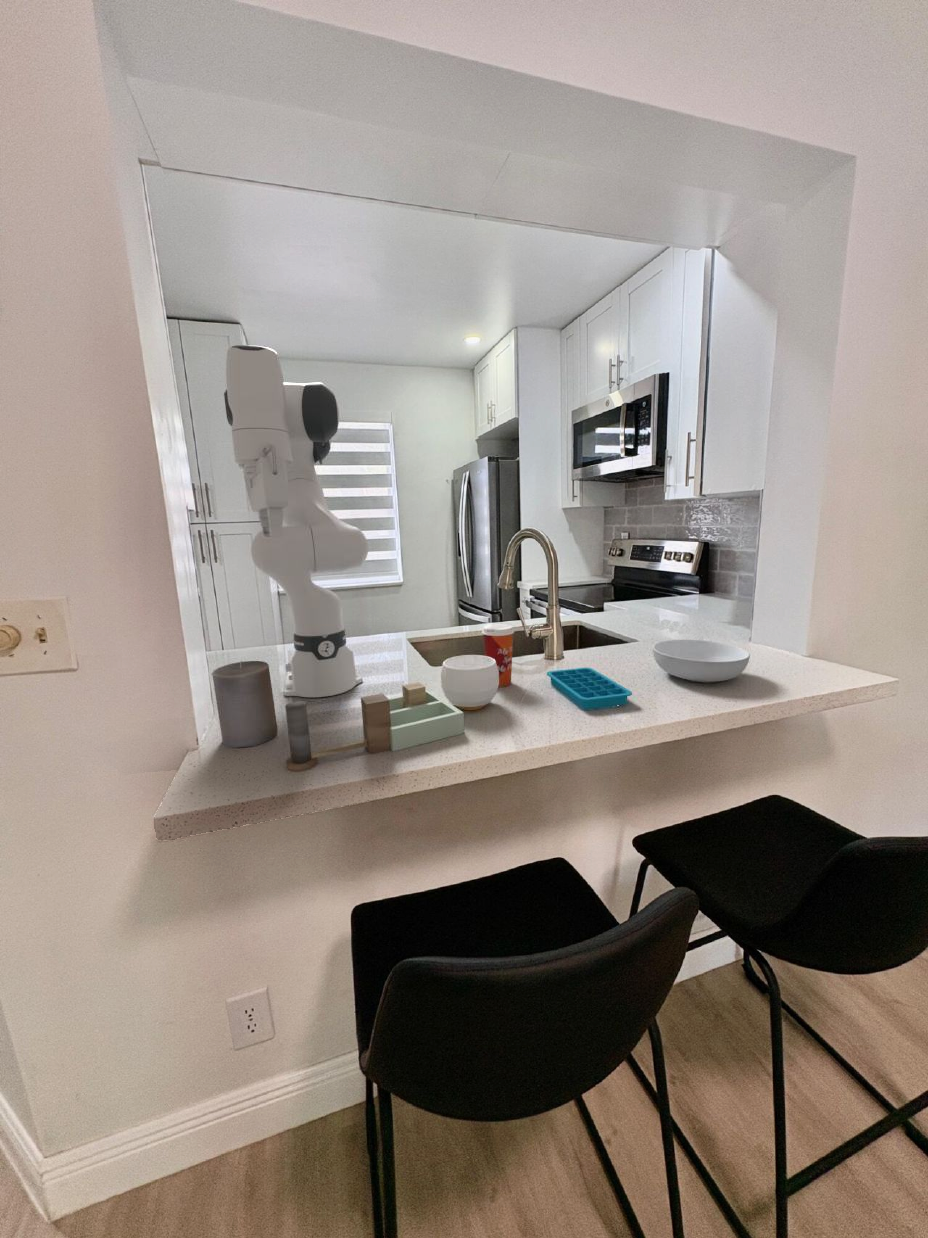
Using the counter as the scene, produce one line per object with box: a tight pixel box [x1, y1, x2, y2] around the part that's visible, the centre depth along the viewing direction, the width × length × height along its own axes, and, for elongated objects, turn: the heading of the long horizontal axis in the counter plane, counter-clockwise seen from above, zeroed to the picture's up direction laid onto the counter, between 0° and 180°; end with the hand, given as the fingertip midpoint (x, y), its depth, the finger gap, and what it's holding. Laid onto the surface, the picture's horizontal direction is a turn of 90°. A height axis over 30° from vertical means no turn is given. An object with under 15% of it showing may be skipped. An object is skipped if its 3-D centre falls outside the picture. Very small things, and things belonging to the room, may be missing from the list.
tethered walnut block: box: [284, 692, 392, 772], centre depth 84 cm, size 5×18×10 cm, turn 115°
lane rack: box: [387, 689, 465, 752], centre depth 95 cm, size 15×14×4 cm
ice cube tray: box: [546, 667, 633, 711], centre depth 111 cm, size 12×20×3 cm, turn 13°
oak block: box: [401, 681, 427, 708], centre depth 99 cm, size 4×4×7 cm
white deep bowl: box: [440, 654, 499, 711], centre depth 105 cm, size 12×12×10 cm
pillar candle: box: [211, 660, 278, 749], centre depth 93 cm, size 10×10×15 cm
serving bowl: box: [652, 639, 751, 683], centre depth 119 cm, size 21×21×7 cm
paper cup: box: [481, 623, 515, 688], centre depth 119 cm, size 8×8×14 cm
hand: (272, 537), depth 84 cm, fingers open, 8 cm apart
